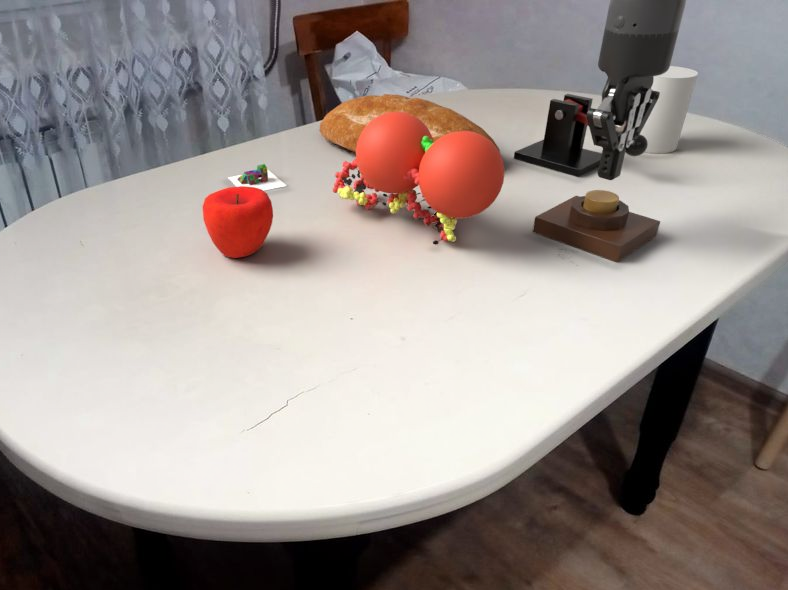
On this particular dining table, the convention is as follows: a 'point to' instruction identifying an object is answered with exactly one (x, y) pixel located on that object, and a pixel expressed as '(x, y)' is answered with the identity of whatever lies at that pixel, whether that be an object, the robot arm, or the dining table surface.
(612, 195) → the bell button
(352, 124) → the bread
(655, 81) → the cup
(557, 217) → the push button box
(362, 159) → the molecule
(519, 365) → the dining table surface
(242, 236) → the apple
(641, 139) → the red lever
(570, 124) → the lever base
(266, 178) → the white tray with figurine
